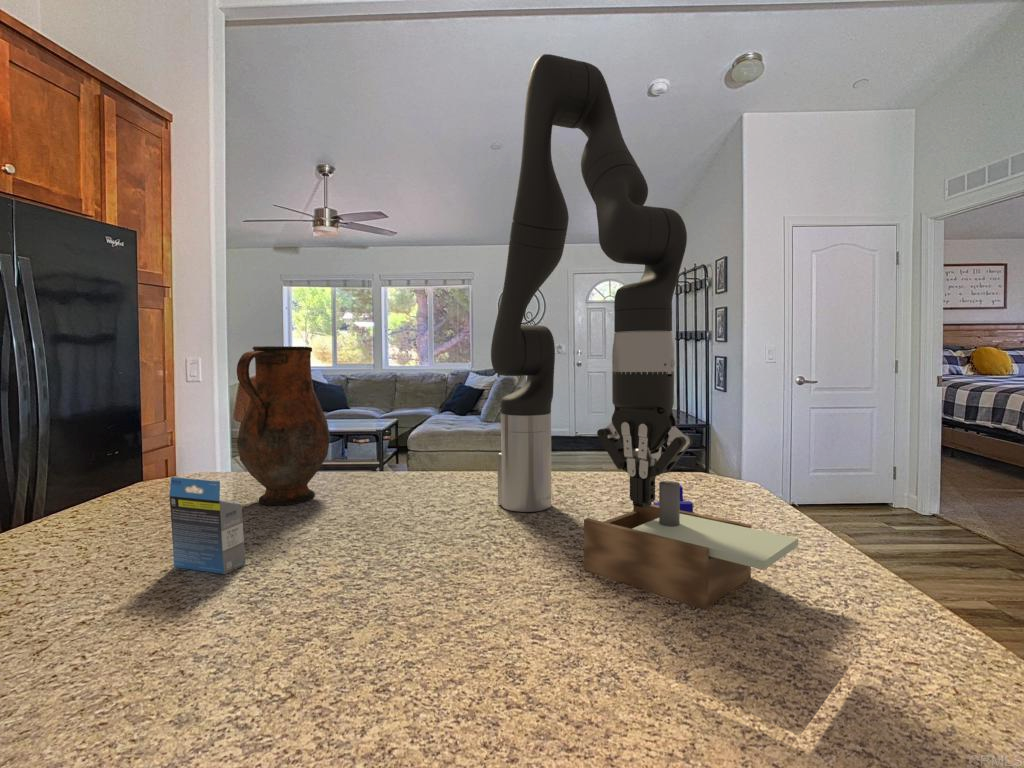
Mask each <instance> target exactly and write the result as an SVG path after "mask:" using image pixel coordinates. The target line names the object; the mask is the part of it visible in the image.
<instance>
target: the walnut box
mask: <svg viewBox="0 0 1024 768" xmlns="http://www.w3.org/2000/svg"><path fill="white" fill-rule="evenodd" d="M632 505H633V504H632ZM632 508H633V511H630V512H625V513H624V514H622V515H619V516H616V517H613V518H611V519H607V520H605V521H601V520H597V519H593V518H589V517H588V518H583V570H584V571H586V572H588V573H593V574H595V575H597V576H601V577H604V578H608V579H611V580H614V581H616V582H620V583H622V584H626V585H628V586H632V587H635V588H638V589H641V590H644V591H646V592H649V593H653V594H656V595H659V596H663V597H666V598H668V599H671V600H675V601H677V602H681V603H683V604H686V605H690V606H691V607H692V606H693V607H696V608H699V609H701V610H703V611H704V610H706V609H707V608H709V607H711V606H712V605H713V604H715V603H716V602H717V601H719V600H720V599H722V598H723V597H725V596H726V595H727V594H729V593H731V592H732V591H733V590H735V589H736V588H738V587H740V585H742V584H744V583H745V582H746V581H748V580H749V579H751V578H752V577H751V576H752V567H750V566H746V565H742V564H738V563H734V562H730V561H726V560H722V559H718V558H715V557H711V556H709V548H708V547H704V546H699V545H695V544H691V543H687V542H683V541H679V540H675V539H671V538H667V537H663V536H659V535H655V534H651V533H647V532H642V531H638V530H634V529H632V528H635V527H637V526H640V525H642V524H645V523H647V522H650V521H652V520H655V519H657V518H659V506H657V505H654V504H651V505H650V506H648V507H645V508H643V507H638V506H634V505H633V507H632ZM680 514H685V515H689V516H694V517H699V518H704V519H709V520H713V521H718V522H723V523H728V524H733V525H737V526H742V527H747V528H752V524H749V523H745V522H739V521H734V520H730V519H724V518H721V517H716V516H710V515H704V514H700V513H696V512H693V513H691V512H686V511H681V510H680Z"/></svg>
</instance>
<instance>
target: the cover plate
mask: <svg viewBox="0 0 1024 768" xmlns="http://www.w3.org/2000/svg"><path fill="white" fill-rule="evenodd" d="M680 483H681V482H678V481H673V480H662V481H659V485H658V489H659V492H658V497H659V499H658V502H659V518H657V519H655V520H652V521H650V522H647V523H645V524H642V525H640V526H637V527H635V528H632V529H634V530H638V531H642V532H647V533H651V534H655V535H659V536H663V537H667V538H671V539H675V540H679V541H683V542H687V543H691V544H695V545H699V546H704V547H708V548H709V556H711V557H715V558H718V559H722V560H726V561H730V562H734V563H738V564H742V565H746V566H750V567H751V568H754V569H758V570H762V571H765V570H766V569H768V568H770V567H771V566H772V565H773V564H775V563H776V562H778V561H779V560H781V559H782V558H783V557H785V556H787V555H788V554H789V553H790V552H792V551H793V550H795V549H796V548H798V546H799V538H798V537H794V536H789V535H784V534H779V533H775V532H771V531H766V530H760V529H757V528H752V527H751V528H747V527H742V526H737V525H733V524H728V523H723V522H718V521H713V520H709V519H704V518H699V517H694V516H689V515H685V514H680V485H681V484H680Z"/></svg>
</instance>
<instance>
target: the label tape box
mask: <svg viewBox="0 0 1024 768" xmlns="http://www.w3.org/2000/svg"><path fill="white" fill-rule="evenodd" d="M193 487H195V488H196V489H200V490H202V491H201V493H200V492H191V491H187V490H186V489H187V488H189V489H190V488H191V489H192V488H193ZM220 491H221V481H219V480H208V479H195V478H188V477H177V476H172V475H171V477H170V485H169V506H170V518H171V519H170V520H171V536H172V540H171V541H172V555H173V567H174V568H176V569H182V568H185V569H184V570H189V569H191V571H199V572H207V573H213V574H219V573H221V574H220V575H227V574H228V572H229V573H231V572H233V571H232V570H234V569H236V568H238V567H239V568H241V567H243V566H245V565H246V553H245V537H244V525H243V523H244V522H243V510H242V509H243V506H242V504H241V503H235V502H231V501H225V500H222V499H221V492H220ZM239 568H238V569H239ZM236 570H237V569H236ZM234 571H235V570H234ZM226 573H227V574H226Z"/></svg>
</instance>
